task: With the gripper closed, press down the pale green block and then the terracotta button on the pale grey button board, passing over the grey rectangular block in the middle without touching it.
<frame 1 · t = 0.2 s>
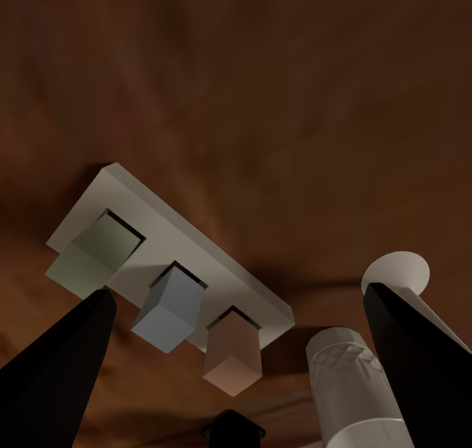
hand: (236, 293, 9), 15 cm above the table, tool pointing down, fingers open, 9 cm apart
white cup: (334, 347, 31), on the table
pale green block: (97, 255, 20), point 5 cm above the table, slide at 0.0 cm
grey rectangular block: (171, 307, 22), point 5 cm above the table, slide at 0.0 cm
button board: (183, 271, 27), on the table
champagne flute: (393, 279, 27), on the table
terracotta button: (233, 351, 24), point 5 cm above the table, slide at 0.0 cm
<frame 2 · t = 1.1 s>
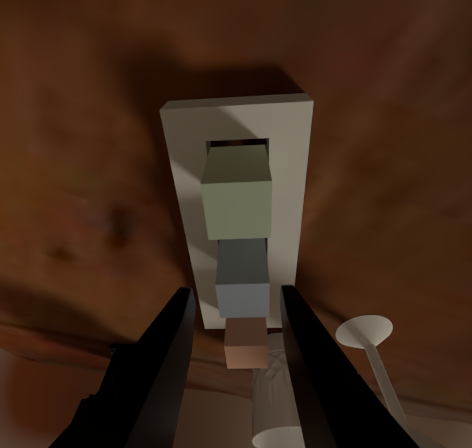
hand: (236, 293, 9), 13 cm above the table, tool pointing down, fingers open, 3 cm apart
white cup: (279, 345, 35), on the table
pale green block: (238, 189, 16), point 5 cm above the table, slide at 0.0 cm
grey rectangular block: (243, 273, 20), point 5 cm above the table, slide at 0.0 cm
button board: (242, 230, 24), on the table
champagne flute: (363, 330, 33), on the table
terracotta button: (246, 329, 24), point 5 cm above the table, slide at 0.0 cm
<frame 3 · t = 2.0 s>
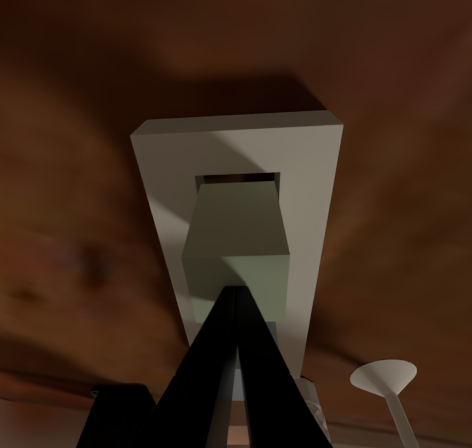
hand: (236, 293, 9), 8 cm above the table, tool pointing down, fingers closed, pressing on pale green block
white cup: (285, 387, 31), on the table
pale green block: (238, 245, 11), point 5 cm above the table, slide at 0.0 cm, touching gripper
grey rectangular block: (244, 339, 15), point 5 cm above the table, slide at 0.0 cm
button board: (244, 271, 20), on the table
champagne flute: (381, 373, 29), on the table
terracotta button: (248, 393, 20), point 5 cm above the table, slide at 0.0 cm
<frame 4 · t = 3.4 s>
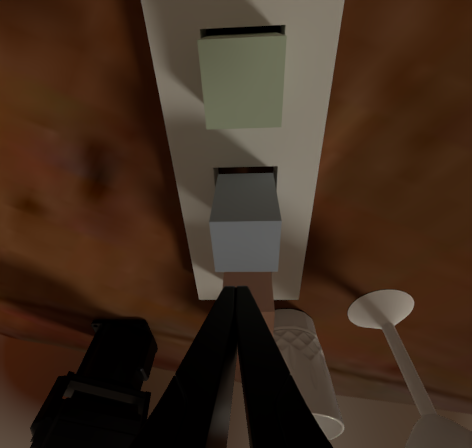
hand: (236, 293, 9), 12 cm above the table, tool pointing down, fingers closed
white cup: (283, 323, 31), on the table
pale green block: (243, 77, 13), point 3 cm above the table, slide at 2.2 cm
grey rectangular block: (245, 219, 16), point 5 cm above the table, slide at 0.0 cm
button board: (246, 177, 20), on the table
champagne flute: (379, 308, 29), on the table
terracotta button: (247, 296, 20), point 5 cm above the table, slide at 0.0 cm
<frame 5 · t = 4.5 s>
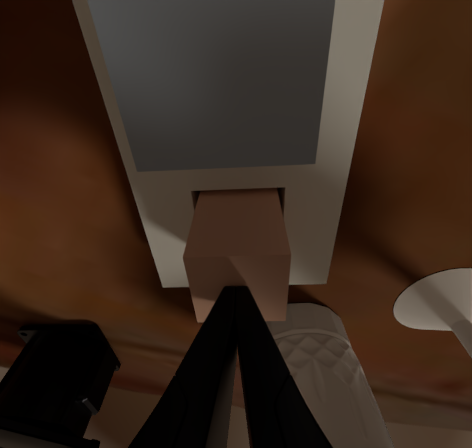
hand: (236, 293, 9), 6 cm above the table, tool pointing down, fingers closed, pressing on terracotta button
white cup: (297, 326, 22), on the table
grey rectangular block: (224, 53, 6), point 5 cm above the table, slide at 0.0 cm
button board: (231, 44, 10), on the table
champagne flute: (441, 299, 19), on the table
terracotta button: (239, 245, 11), point 4 cm above the table, slide at 1.5 cm, touching gripper
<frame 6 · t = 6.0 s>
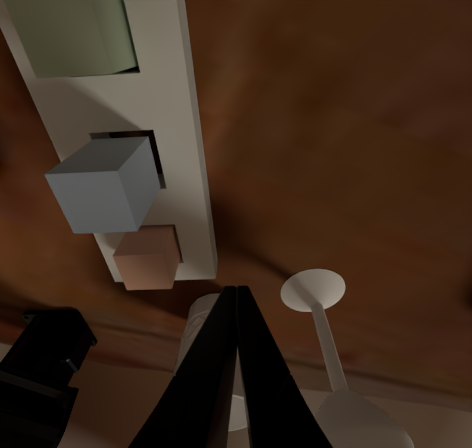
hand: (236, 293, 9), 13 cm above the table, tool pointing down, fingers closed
white cup: (220, 310, 30), on the table
pale green block: (85, 29, 13), point 3 cm above the table, slide at 2.2 cm
grey rectangular block: (113, 181, 15), point 5 cm above the table, slide at 0.0 cm
button board: (141, 149, 20), on the table
champagne flute: (312, 290, 28), on the table
terracotta button: (152, 250, 21), point 3 cm above the table, slide at 2.3 cm
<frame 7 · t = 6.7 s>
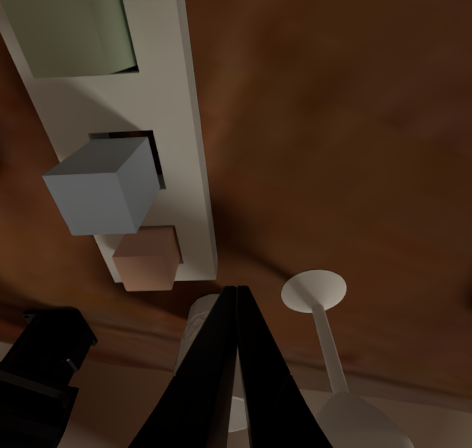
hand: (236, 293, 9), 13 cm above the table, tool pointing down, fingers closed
white cup: (220, 310, 30), on the table
pale green block: (83, 29, 13), point 3 cm above the table, slide at 2.2 cm
grey rectangular block: (112, 182, 15), point 5 cm above the table, slide at 0.0 cm
button board: (141, 149, 19), on the table
champagne flute: (312, 291, 28), on the table
terracotta button: (152, 250, 21), point 3 cm above the table, slide at 2.3 cm
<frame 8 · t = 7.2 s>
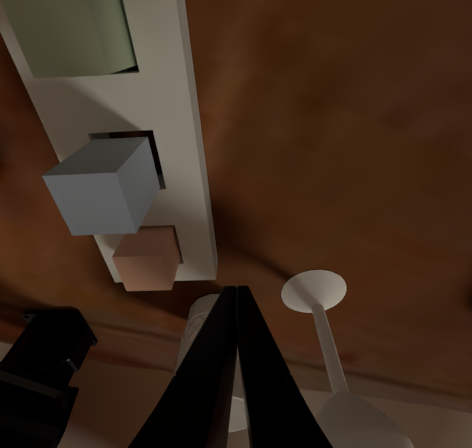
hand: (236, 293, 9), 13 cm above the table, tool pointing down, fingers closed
white cup: (220, 310, 30), on the table
pale green block: (83, 29, 13), point 3 cm above the table, slide at 2.2 cm
grey rectangular block: (112, 182, 15), point 5 cm above the table, slide at 0.0 cm
button board: (141, 149, 19), on the table
champagne flute: (312, 291, 28), on the table
terracotta button: (152, 250, 21), point 3 cm above the table, slide at 2.3 cm
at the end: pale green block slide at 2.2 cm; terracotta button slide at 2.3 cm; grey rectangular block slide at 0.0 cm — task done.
